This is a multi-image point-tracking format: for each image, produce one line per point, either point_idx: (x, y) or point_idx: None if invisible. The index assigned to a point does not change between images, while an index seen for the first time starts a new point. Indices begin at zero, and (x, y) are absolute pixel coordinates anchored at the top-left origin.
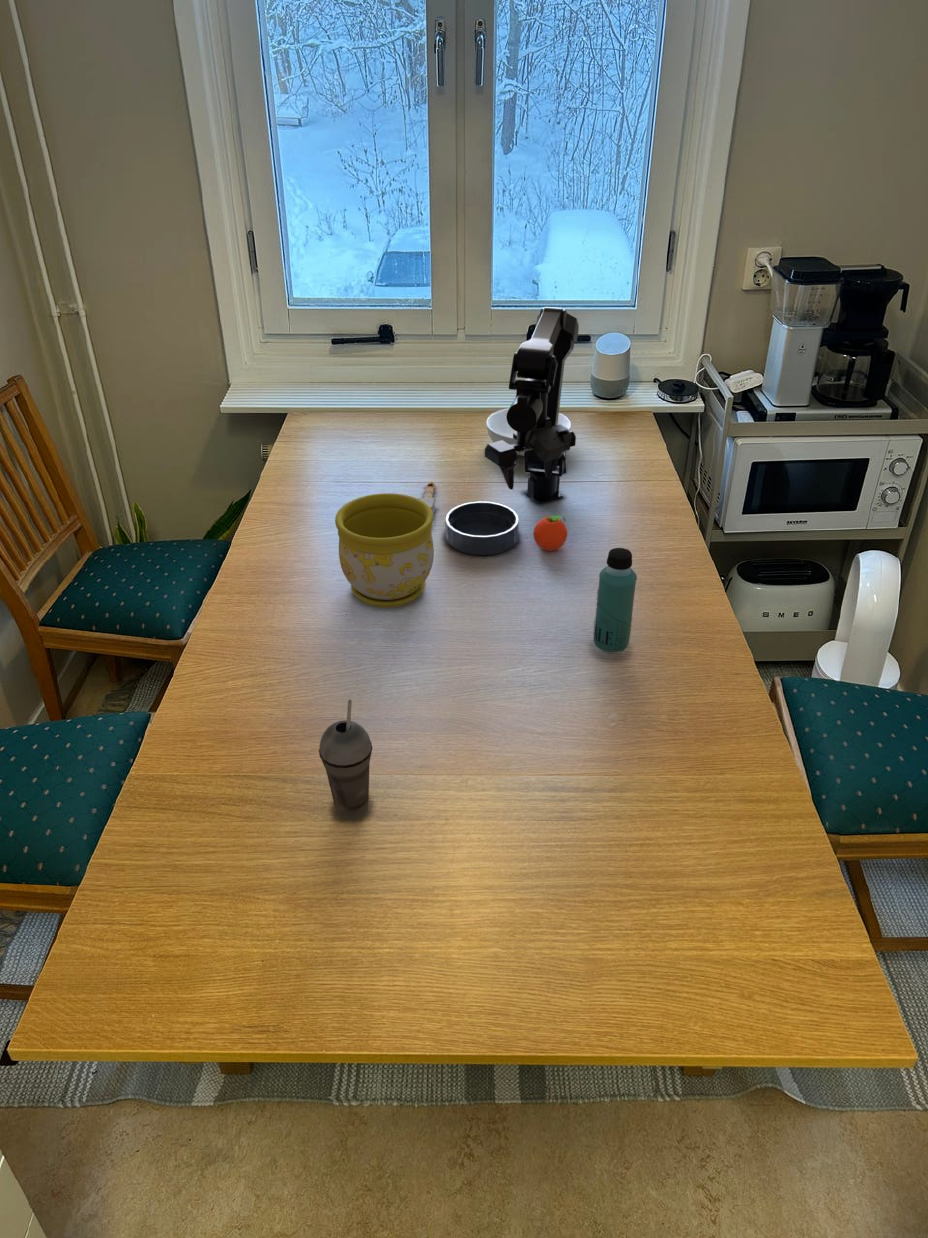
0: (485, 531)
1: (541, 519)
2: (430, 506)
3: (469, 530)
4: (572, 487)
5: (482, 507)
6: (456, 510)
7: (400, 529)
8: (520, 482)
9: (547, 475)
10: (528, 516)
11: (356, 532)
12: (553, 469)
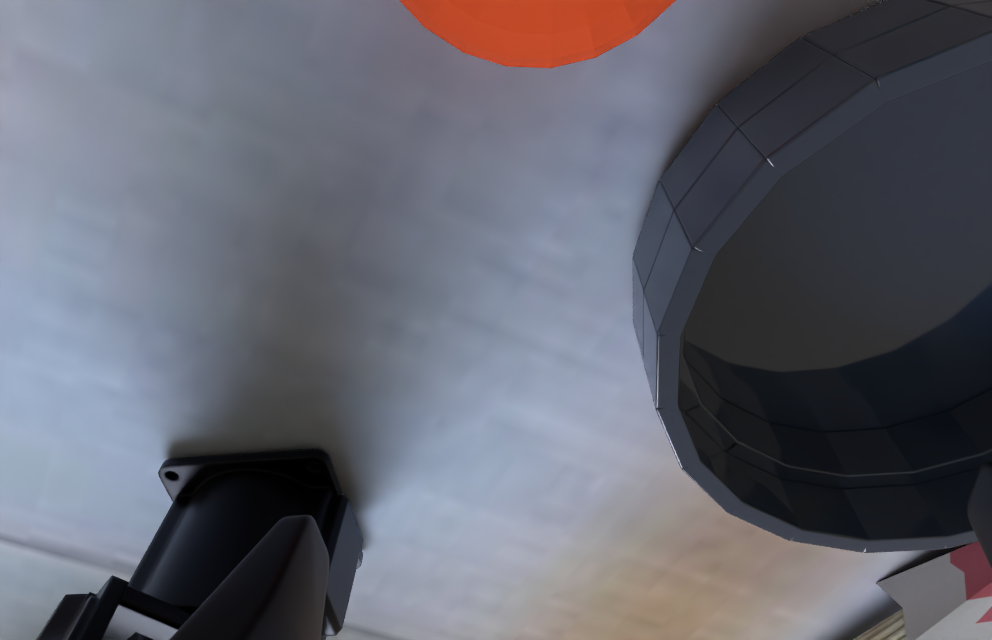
0: (826, 308)
1: (598, 20)
2: (977, 602)
3: (902, 357)
4: (81, 516)
5: (771, 492)
6: None
7: None
8: None
9: (307, 560)
10: (454, 364)
11: None
12: (177, 632)
